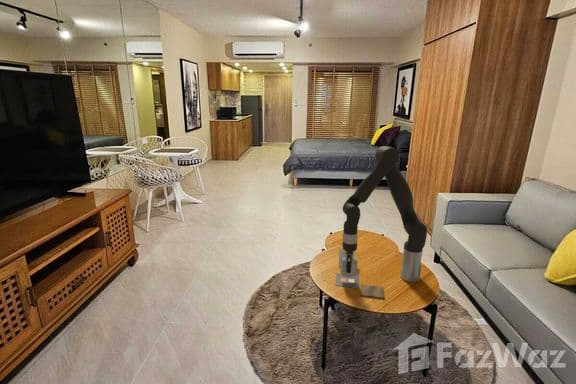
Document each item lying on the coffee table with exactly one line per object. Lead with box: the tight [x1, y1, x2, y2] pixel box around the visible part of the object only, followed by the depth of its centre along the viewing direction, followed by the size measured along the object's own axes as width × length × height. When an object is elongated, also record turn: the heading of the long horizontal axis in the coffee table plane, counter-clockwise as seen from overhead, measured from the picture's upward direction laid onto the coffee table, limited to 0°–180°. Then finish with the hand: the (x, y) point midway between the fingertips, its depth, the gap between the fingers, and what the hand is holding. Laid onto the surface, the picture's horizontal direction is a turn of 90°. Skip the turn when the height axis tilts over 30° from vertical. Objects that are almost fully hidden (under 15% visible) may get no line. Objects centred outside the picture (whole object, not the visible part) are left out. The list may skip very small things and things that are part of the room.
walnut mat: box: [360, 284, 385, 300], centre depth 156 cm, size 11×9×1 cm
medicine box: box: [340, 256, 358, 276], centre depth 163 cm, size 8×4×9 cm, turn 92°
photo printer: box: [338, 246, 356, 267], centre depth 181 cm, size 10×4×12 cm, turn 123°
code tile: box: [334, 272, 360, 289], centre depth 166 cm, size 12×12×1 cm
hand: (348, 269), depth 164 cm, fingers closed on medicine box, 5 cm apart
